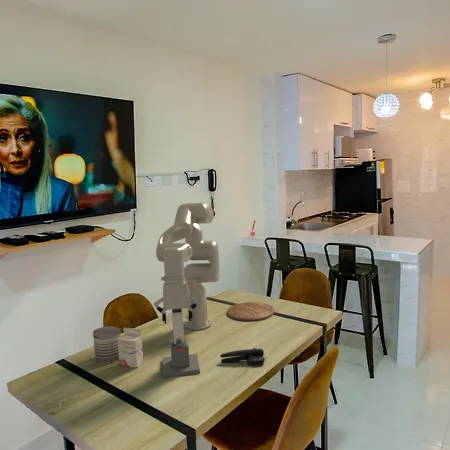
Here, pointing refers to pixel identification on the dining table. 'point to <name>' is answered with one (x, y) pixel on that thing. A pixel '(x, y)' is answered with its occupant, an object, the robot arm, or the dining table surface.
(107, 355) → the can
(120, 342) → the ink cartridge box
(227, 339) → the dining table surface
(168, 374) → the stand
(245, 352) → the can opener
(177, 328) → the column
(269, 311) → the trivet
